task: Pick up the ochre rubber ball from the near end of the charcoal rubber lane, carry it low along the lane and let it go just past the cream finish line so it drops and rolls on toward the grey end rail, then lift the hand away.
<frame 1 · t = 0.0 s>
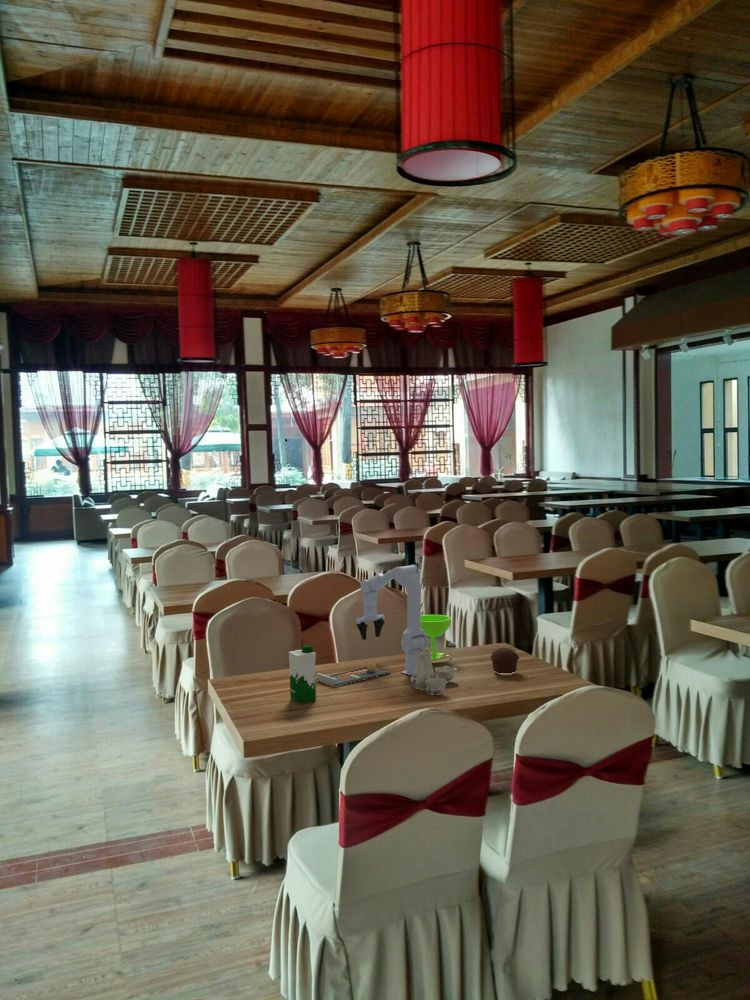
hand: (370, 638, 353), 10 cm above the table, tool pointing down, fingers open, 7 cm apart
chinaware: (432, 688, 311), on the table
muffin: (505, 673, 330), on the table
wineglass: (433, 659, 355), on the table
milk carton: (303, 701, 297), on the table
lane mat: (354, 677, 327), on the table
ball: (371, 667, 333), point 3 cm above the table, touching lane mat
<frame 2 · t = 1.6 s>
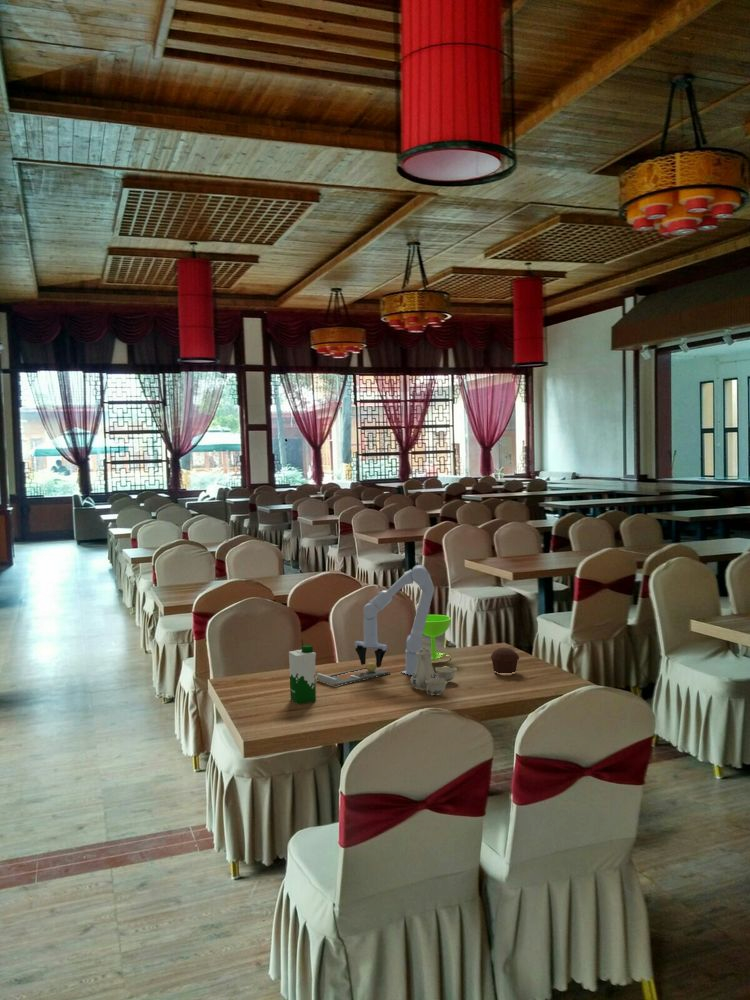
hand: (370, 665, 333), 3 cm above the table, tool pointing down, fingers open, 7 cm apart
nothing on the table moved.
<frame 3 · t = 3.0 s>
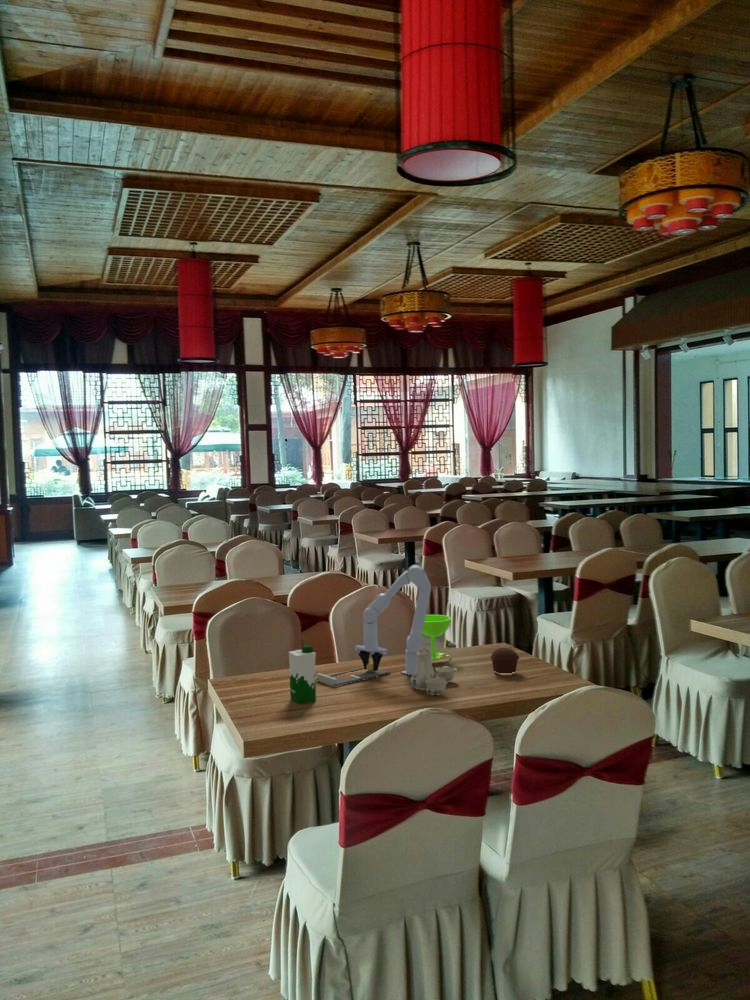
hand: (371, 669, 333), 2 cm above the table, tool pointing down, fingers closed on ball, 4 cm apart
ball: (371, 667, 333), point 3 cm above the table, touching gripper, lane mat
everything else where it was.
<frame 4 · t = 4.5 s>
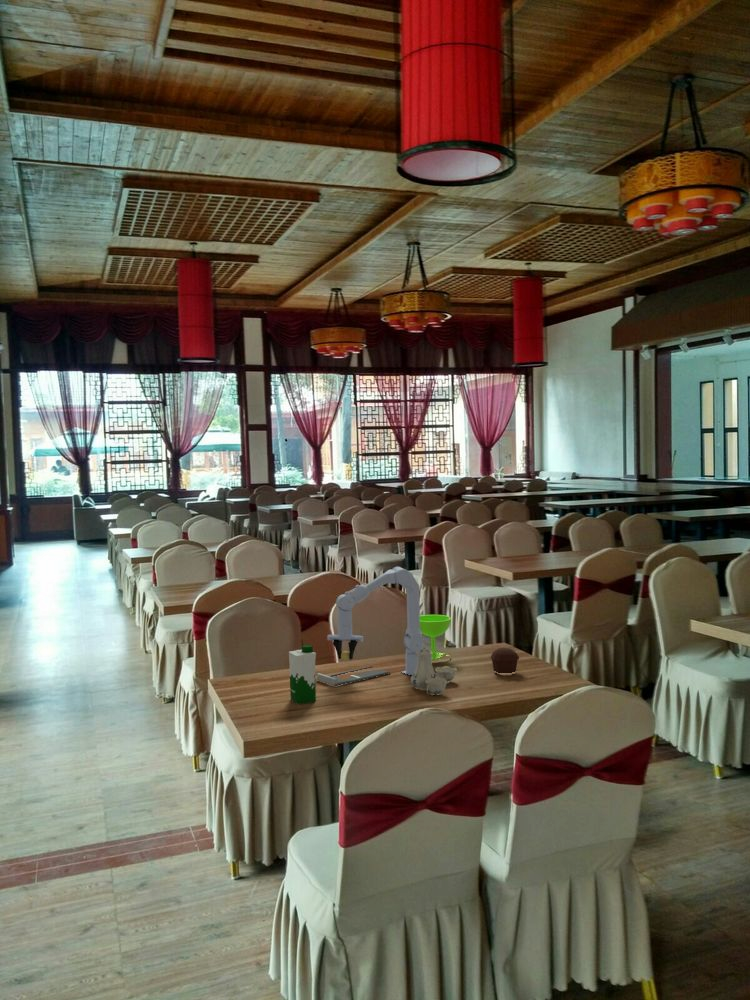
hand: (345, 658, 324), 8 cm above the table, tool pointing down, fingers closed on ball, 4 cm apart
ball: (345, 655, 324), point 9 cm above the table, touching gripper
everything else where it was.
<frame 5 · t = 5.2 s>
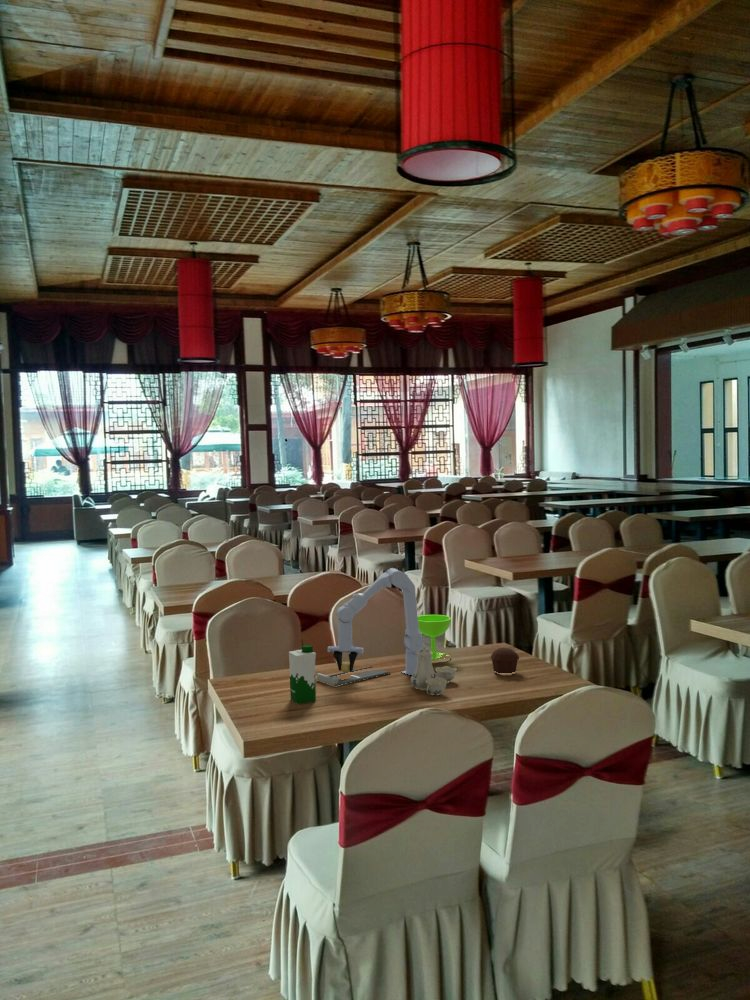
hand: (345, 670, 325), 4 cm above the table, tool pointing down, fingers closed on ball, 4 cm apart
ball: (345, 667, 325), point 5 cm above the table, touching gripper
everything else where it was.
when the fingers open (4 cm above the table, at t = 6.0 s): ball drops 2 cm, resting on lane mat.
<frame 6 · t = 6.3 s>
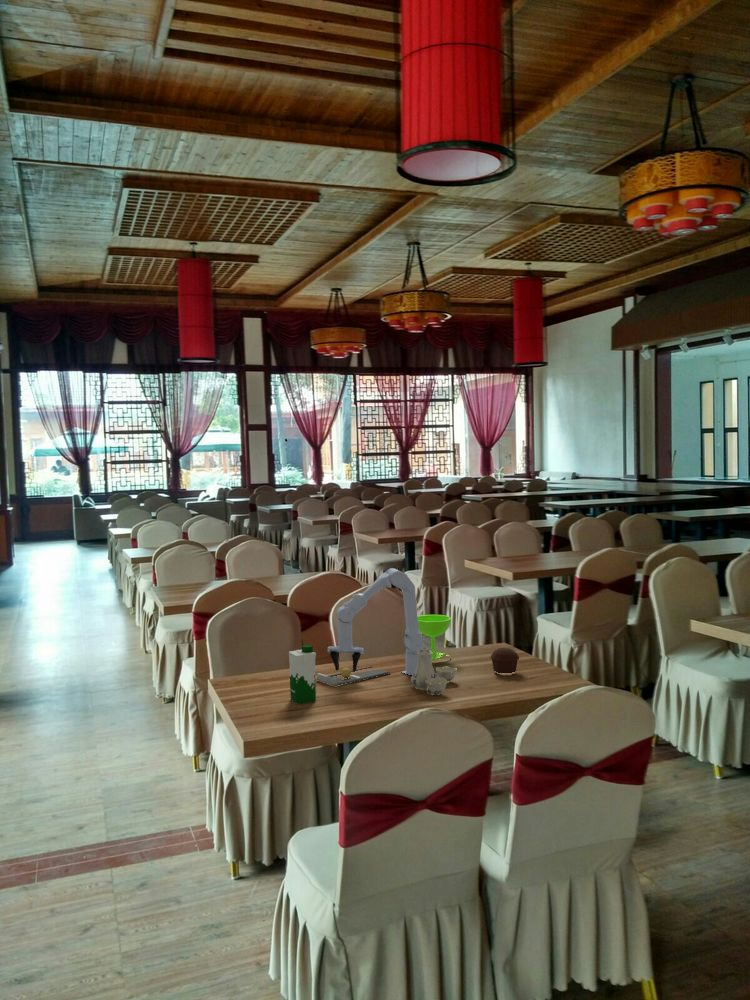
hand: (345, 670, 325), 4 cm above the table, tool pointing down, fingers open, 7 cm apart
ball: (346, 672, 325), point 3 cm above the table, touching lane mat
everything else where it was.
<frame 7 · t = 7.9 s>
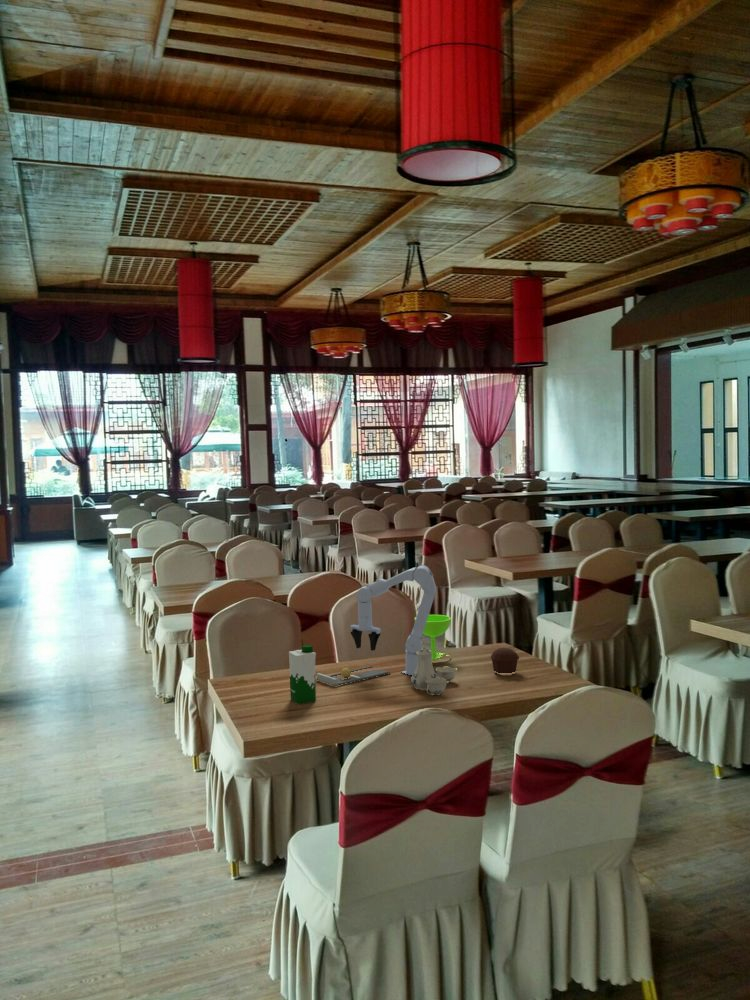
hand: (365, 649, 334), 10 cm above the table, tool pointing down, fingers open, 7 cm apart
nothing on the table moved.
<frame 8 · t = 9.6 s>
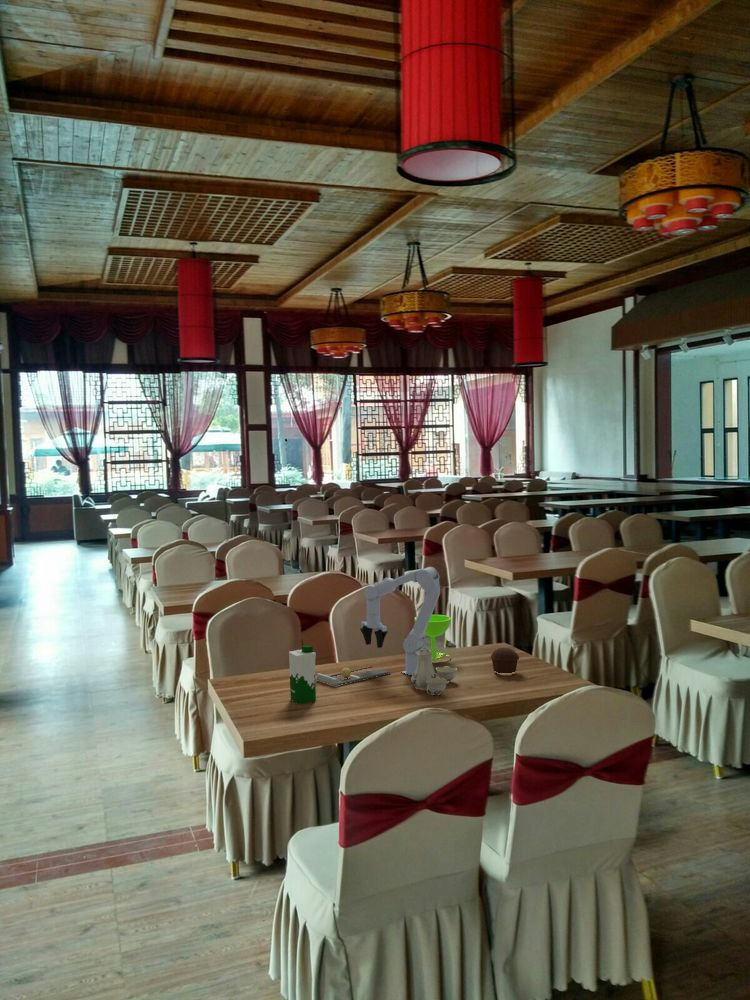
hand: (374, 646, 339), 10 cm above the table, tool pointing down, fingers open, 7 cm apart
nothing on the table moved.
at the end: ball inside the target area on the lane mat (3.3 cm from its centre), point 2.6 cm above the lane mat's base; the gripper is holding nothing; ball moved 12.9 cm from its start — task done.
